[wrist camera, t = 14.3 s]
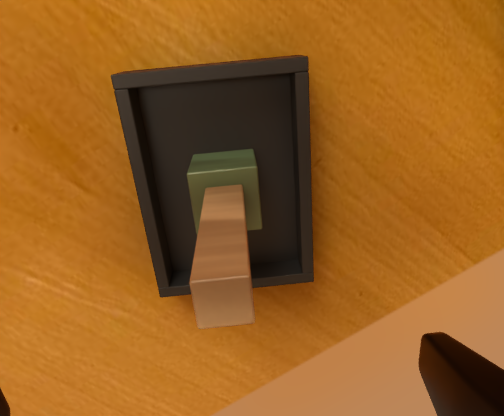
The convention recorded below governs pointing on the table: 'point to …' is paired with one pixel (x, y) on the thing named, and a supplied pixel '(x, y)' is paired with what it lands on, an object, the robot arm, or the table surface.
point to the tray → (219, 140)
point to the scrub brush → (223, 236)
